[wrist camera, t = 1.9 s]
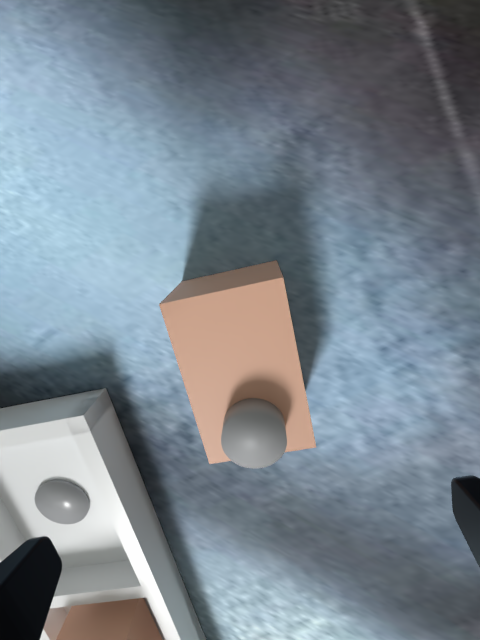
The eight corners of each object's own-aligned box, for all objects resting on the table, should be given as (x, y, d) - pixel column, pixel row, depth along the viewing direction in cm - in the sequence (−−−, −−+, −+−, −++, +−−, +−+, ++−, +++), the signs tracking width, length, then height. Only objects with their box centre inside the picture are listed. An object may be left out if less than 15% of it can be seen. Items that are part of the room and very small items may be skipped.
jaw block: (276, 259, 15) (285, 283, 10) (302, 394, 17) (320, 465, 12) (182, 280, 16) (150, 312, 11) (219, 409, 18) (206, 482, 13)
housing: (106, 388, 17) (83, 415, 15) (215, 663, 24) (211, 710, 22) (-45, 416, 18) (-87, 446, 16) (101, 673, 25) (86, 719, 23)
